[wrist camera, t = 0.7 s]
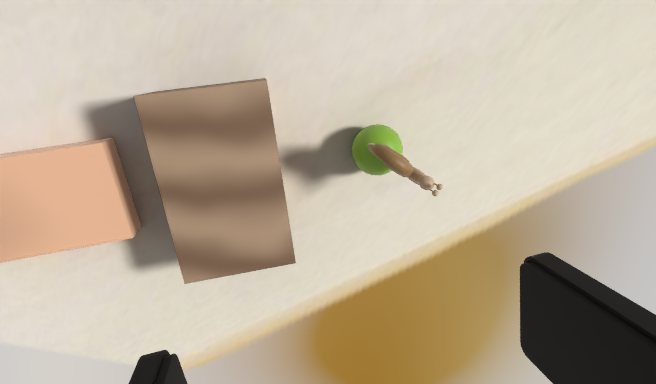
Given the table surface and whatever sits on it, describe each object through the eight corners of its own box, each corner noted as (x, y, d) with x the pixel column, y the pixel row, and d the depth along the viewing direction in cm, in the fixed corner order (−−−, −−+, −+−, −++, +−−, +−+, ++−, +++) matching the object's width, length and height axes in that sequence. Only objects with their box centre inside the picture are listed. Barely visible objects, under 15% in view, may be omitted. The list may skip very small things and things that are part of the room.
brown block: (155, 91, 38) (133, 96, 31) (265, 78, 39) (266, 80, 33) (195, 251, 44) (184, 283, 37) (290, 234, 45) (295, 263, 39)
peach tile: (-36, 159, 37) (-64, 167, 34) (114, 136, 39) (101, 142, 36) (6, 249, 40) (-16, 265, 37) (142, 224, 42) (133, 238, 39)
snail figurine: (381, 180, 45) (423, 217, 34) (337, 153, 43) (366, 182, 32) (408, 142, 44) (459, 166, 33) (364, 112, 42) (403, 127, 31)
